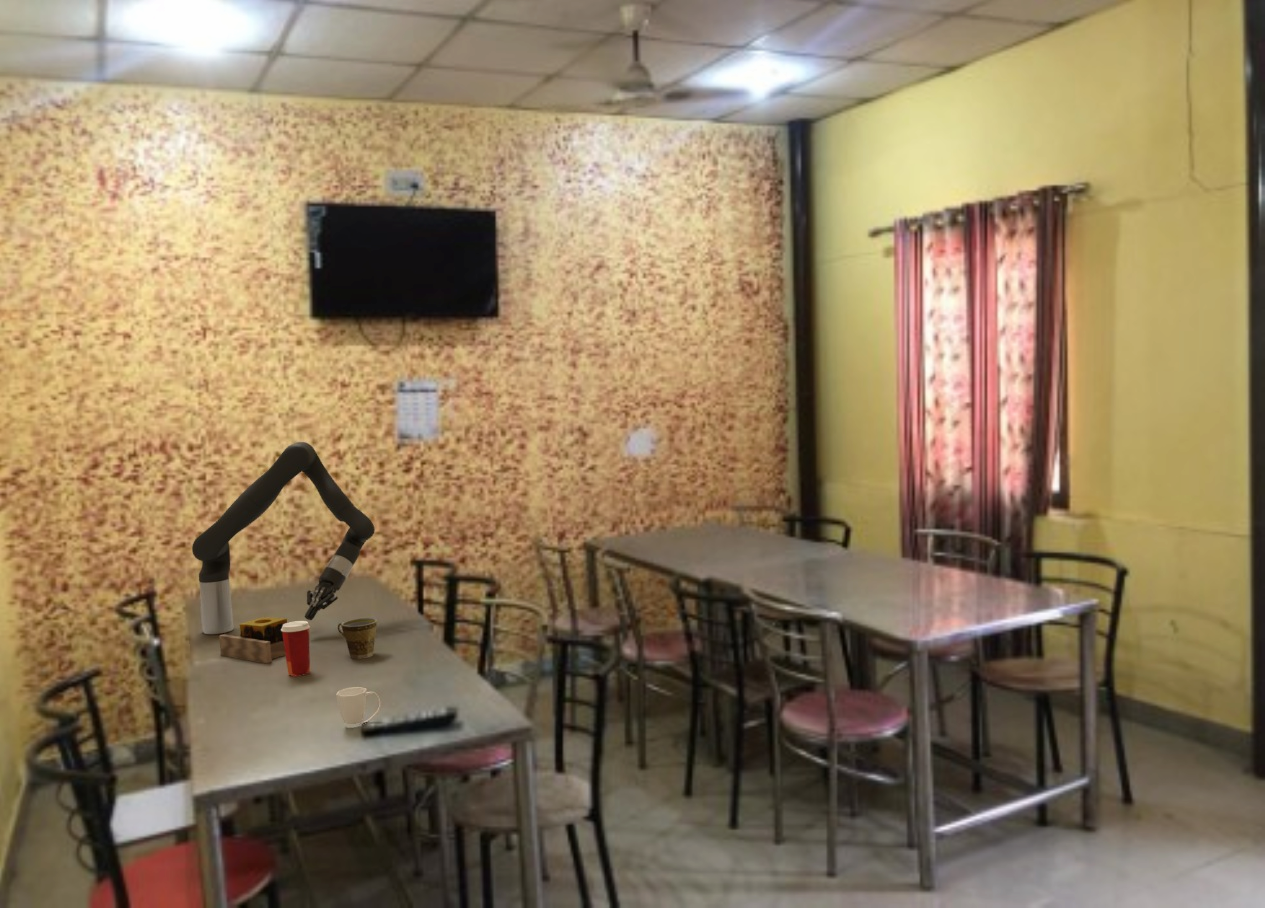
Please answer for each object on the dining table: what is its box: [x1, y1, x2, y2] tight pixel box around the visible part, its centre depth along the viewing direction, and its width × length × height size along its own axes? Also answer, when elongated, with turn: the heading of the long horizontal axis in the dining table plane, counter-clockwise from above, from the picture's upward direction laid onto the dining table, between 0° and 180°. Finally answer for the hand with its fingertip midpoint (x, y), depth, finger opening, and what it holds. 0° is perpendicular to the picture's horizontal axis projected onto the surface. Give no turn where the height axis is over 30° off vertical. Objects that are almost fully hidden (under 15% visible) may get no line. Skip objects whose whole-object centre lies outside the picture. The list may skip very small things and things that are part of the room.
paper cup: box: [281, 620, 311, 677], centre depth 286 cm, size 8×8×14 cm
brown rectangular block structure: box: [218, 633, 286, 664], centre depth 308 cm, size 22×8×6 cm, turn 56°
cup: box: [335, 686, 382, 725], centre depth 240 cm, size 7×10×8 cm
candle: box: [238, 616, 288, 650], centre depth 310 cm, size 10×10×10 cm
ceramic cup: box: [337, 617, 378, 660], centre depth 302 cm, size 13×10×10 cm
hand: (307, 618), depth 324 cm, fingers closed
